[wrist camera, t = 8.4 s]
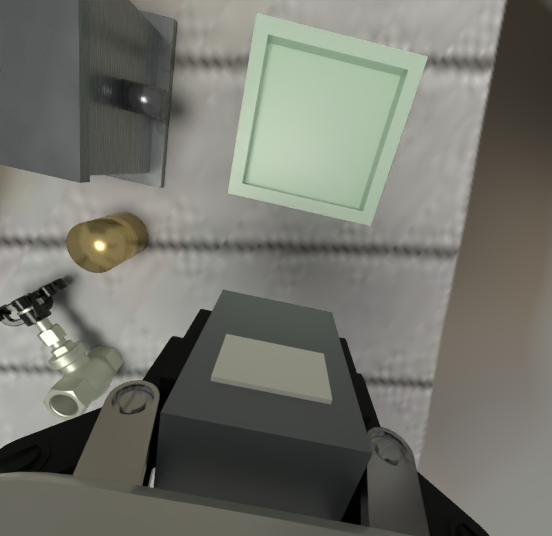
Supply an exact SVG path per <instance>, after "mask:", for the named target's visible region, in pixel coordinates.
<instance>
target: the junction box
mask: <svg viewBox="0 0 552 536" xmlns="http://www.w3.org/2000/svg"><path fill="white" fill-rule="evenodd" d="M176 31H177V22H176V21H175V19H172V18H168V17H164V16H160V15H156V14H152V13H148V12H144V11H140V10H138V9H137V8H136V7H135V6H134V5H133V4H132V3H131V2H130V1H129V0H0V164H1V165H5V166H9V167H14V168H18V169H23V170H27V171H31V172H36V173H40V174H45V175H49V176H53V177H58V178H62V179H67V180H71V181H75V182H80V183H82V182H90V175H107V176H111V177H116V178H120V179H124V180H129V181H133V182H138V183H142V184H146V185H151V186H155V187H159V188H162V187H163V185H164V173H165V161H166V150H167V138H168V126H169V114H170V102H171V91H172V79H173V67H174V55H175V43H176Z"/></svg>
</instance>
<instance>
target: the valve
mask: <svg viewBox="0 0 552 536" xmlns="http://www.w3.org/2000/svg"><path fill="white" fill-rule="evenodd" d="M57 286H58V287H59V288H60V289H61V290H62V289H64V288H66V287H67V285H66V284H65V282H64V281H63V279H62V278H59V279H57V280H55V281H53V282H51V283H49V284H47V285H45V286H43V287H41V288H39V289H38V290H37V291H35V292H33V293H28V294H26V295H24V296H22V297H20V298H18V299H16V300H14V301H12V302H11V303H10V304H8V305H3V306H1V307H0V321H2V322H3V323H4V324H6V325H8V326H19V325H22V324H24V323H25V324H26V325H27V326H31V325H33V324H35V325H36V326H37V328H38V329H39V330H40V331H41V332H40V333H39V334H38V335H37V336H38V337H39V339H40V340H41V341H42V342H43V344H44V345H45V346H50V345H51V347H52V348H53V350H52V351H51V353H52V354H53V357H52V358H51V359H50V360H49V361H48V362H49V364H50V365H51V366H52V367H53V368H54V370H59V369H60V370H61V371H62V372H63V374H64V376H63V378H62V379H61V380H60V381H59V382H58V383H56V384H55V385H54V386H53V387H52V388H51V389H50V391H49V392H48V394H47V396H46V398H45V400H44V404H45V406H46V408H47V409H48V410H49V411H50V412H51V413H52V414H53V415H54V416H56V417H58V418H60V419H65V420H70V419H72V418H75V417H78V416H80V415H82V414H83V413H84V412H85V410H86V409H87V408H88V407H89V405H90V404H91V402H92V401H94V400H96V399H98V398H99V397H101V396H102V395H103V394H104V393H105V392H106V391H107V389H108V388H109V386H110V384H111V382H112V378H113V377H114V375H115V374H116V373H117V372H118V370H119V369H120V367H121V365H122V364H123V362H124V360H123V359H122V357H121V356H120V355H119V353H118V352H117V351H116V349H115V348H113V347H103V346H96V347H95V348H94V349H93V350H92V351H91V352H90V353H89V354H88V355H86V353H85V352H86V351H87V348H86V347H85V346H84V344H83V343H82V342H81V341H79V342H76V343H73V342H72V341H71V340H68V341H66V340H65V338H64V336H66V335H67V334H66V333H65V332H64V330H63V329H62V328H61V326H60V325H59V324H54V325H52V324H51V322H50V321H49V320H48V319H47V317H48V316H49V315H51V312H50V311H49V310H50V309H51V308H52V306H53V299H52V297H51V295H53V294H55V293H57V292H59V291H58V289H57V288H56V287H57ZM40 297H41V298H42V299H43V301H44V303H45V304H44V303H43V302H42V301H40V302H39V299H38V298H40ZM14 310H17V311H18V312H19V313H17V314H18V315H19V317H20V319H18V320H14V319H12V318H11V317H10V316H9V315H10V314H12V313H11V312H12V311H14Z"/></svg>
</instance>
